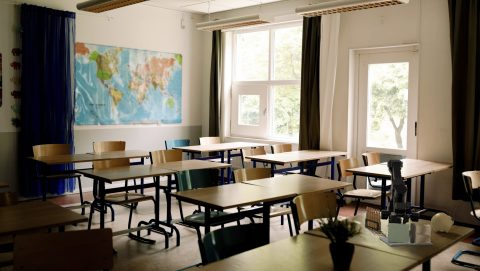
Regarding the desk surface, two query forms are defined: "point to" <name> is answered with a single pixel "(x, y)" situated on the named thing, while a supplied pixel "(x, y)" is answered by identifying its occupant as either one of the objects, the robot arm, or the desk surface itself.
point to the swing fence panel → (398, 232)
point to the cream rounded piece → (442, 222)
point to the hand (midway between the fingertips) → (400, 230)
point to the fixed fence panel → (420, 233)
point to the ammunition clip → (373, 219)
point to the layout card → (392, 243)
